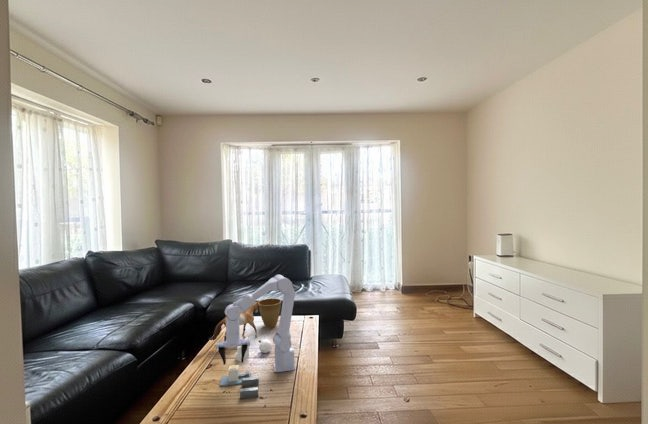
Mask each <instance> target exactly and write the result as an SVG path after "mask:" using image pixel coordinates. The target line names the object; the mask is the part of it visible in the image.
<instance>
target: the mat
mask: <svg viewBox="0 0 648 424" xmlns="http://www.w3.org/2000/svg"><path fill="white" fill-rule="evenodd" d="M243 375H245V373H242V374H241V373H239V376H243ZM249 377H252V372H249ZM243 378H245V377H243ZM236 385H237V386H239V385H242V378H238V381H230V382H229V379H228V375H223V376H221V379H220V383H219V387H221V388H222V387H228V386H236Z"/></svg>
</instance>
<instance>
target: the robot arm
mask: <svg viewBox="0 0 648 424" xmlns="http://www.w3.org/2000/svg"><path fill="white" fill-rule="evenodd" d="M278 290H279V291H280V292H281V293H282V295H283V299H282V303H281V309H280V315H279V323H278V327H277V329H276V331H275V334H274V335H273V338H272V341H273V344H275V346H274V363H273V372H274V373H281V372H290V371H295V365H296V364H295V363H296V361H295V360H296V359H295V348H294V347H292V340H291V338H292V336H291V332H290V328H291V323H292V322H291V321H292V315H293V309H294V304H295V303H294V302H295V297H296V296H295V295H296V291H295V289H294V286H293V282H292V281H291V280H290V279H289V278H287V277H286V276H285V277H284V275H282V274H276V275H274V276H273V277H271V278H270V279H268V281H266V282H265V283H264V284H262V285H261V286H259V288H257V289H256V290H255V291H254V292H252V293H246V294H244V293H243V295H242V296H241V297H240V298H239V299H237V300H236V301H233V302H232V303H230V304H229V305H227V306H226V308H225V310H224V314H225V318H226V326H225V332H226V341H224V340H223V341H220V342H216V344H215V350H217V352H218V354H219V356H220V357H221V359H222V360H221V361H222V363H223V366H225V365H226V363H227V360H226V359H227V358H226V349H225V347H227V348H235V347H238V346H242V348H241V351H242V360H241V361H240V362H241V364H243V363H244V360H245V359H244V355H245V352H246V350H247V346H249V347H250V345H251V339H249V340H244V338H242V339H241V338H240V337H241V336H240V335H241V333H240V330H241V329H240V325H239V317H240V315H241V313H243V312H244V311H246V310H247V309H248V308H250V307H251V306H252V305H254V303H255V301H256V300H258V299H260V298H261V297H263V296H264V295H266V294H268V293H269V292H270V291H271V292H272V291H273V292H274V291H275V292H278ZM243 359H244V360H243Z"/></svg>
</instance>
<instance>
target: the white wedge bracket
mask: <svg viewBox="0 0 648 424" xmlns="http://www.w3.org/2000/svg"><path fill="white" fill-rule="evenodd" d="M245 337H246V338H245V339H244V338H243V340H250V338H249V337H248V336H245ZM241 348H242V346H236V351H237V352H235V354H234V360H236V361H238V362H241V360H242V351H241ZM248 358H250V346H247V350H246V352H245V355H244V359H243V361H244V360H245V359H248Z"/></svg>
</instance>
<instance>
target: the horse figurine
mask: <svg viewBox="0 0 648 424" xmlns="http://www.w3.org/2000/svg"><path fill="white" fill-rule="evenodd" d="M259 301H260V300H259ZM259 301H258V299H256V300H255V303H254V305H252V306H251V307H250V308H248V309H247V310H246V311H244V312H243V313H241V315H240V317H239V326H243V329H242V337H243V338H242V339H243V340H244V339H245V338H246V337H247V336H245V333H246V326H247V324H249V325H250V326H251V327H252V329H253V330H254V337H256V338H258V331H257V327H256V325H255V322H254V320H255V317H254V312H255V314H256V313H258V312H259V310H258V309H259V305H258V302H259ZM223 326H225V327H226V317H224V318H223V319H222V320H220V321H219V322H218V323H217V325H216V326H215V327H214V331H213V335H212V336H211V337H209V338H208V340H209V341H216V340H217V339H218V337H219V336H220V334H221V332H222V329H223V328H222V327H223ZM223 339H224V340H223V341H226V331H225V332H224V336H223ZM227 348H228V347H225V350H226V349H227Z"/></svg>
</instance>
